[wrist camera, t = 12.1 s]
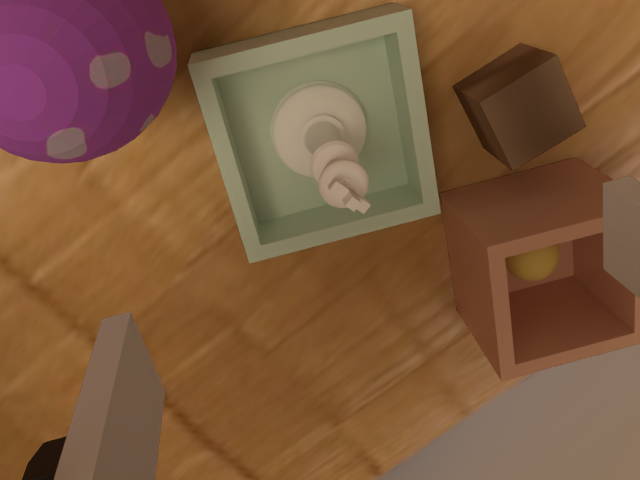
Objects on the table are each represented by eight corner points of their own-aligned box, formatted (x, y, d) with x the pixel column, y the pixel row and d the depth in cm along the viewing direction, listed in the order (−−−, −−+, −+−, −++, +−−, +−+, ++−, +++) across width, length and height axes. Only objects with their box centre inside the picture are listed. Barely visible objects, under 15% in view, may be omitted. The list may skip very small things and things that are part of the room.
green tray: (247, 234, 34) (249, 263, 31) (191, 52, 29) (187, 65, 26) (421, 189, 34) (441, 213, 31) (392, 2, 30) (411, 8, 27)
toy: (159, 119, 31) (105, 253, 17) (21, 60, 29) (-162, 159, 15) (211, -10, 28) (195, 27, 15) (65, -84, 26) (-103, -118, 13)
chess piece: (326, 192, 33) (361, 285, 24) (250, 140, 31) (258, 220, 22) (385, 118, 32) (445, 188, 23) (309, 59, 30) (343, 110, 21)
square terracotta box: (456, 309, 38) (501, 380, 32) (440, 192, 34) (487, 247, 28) (580, 276, 38) (648, 341, 32) (576, 157, 35) (653, 203, 28)
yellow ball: (496, 271, 36) (518, 297, 34) (492, 226, 35) (514, 249, 32) (545, 258, 36) (570, 283, 34) (542, 213, 35) (568, 235, 32)
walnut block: (483, 147, 34) (512, 171, 30) (451, 85, 32) (479, 102, 28) (547, 107, 33) (586, 126, 30) (519, 42, 32) (556, 54, 28)
